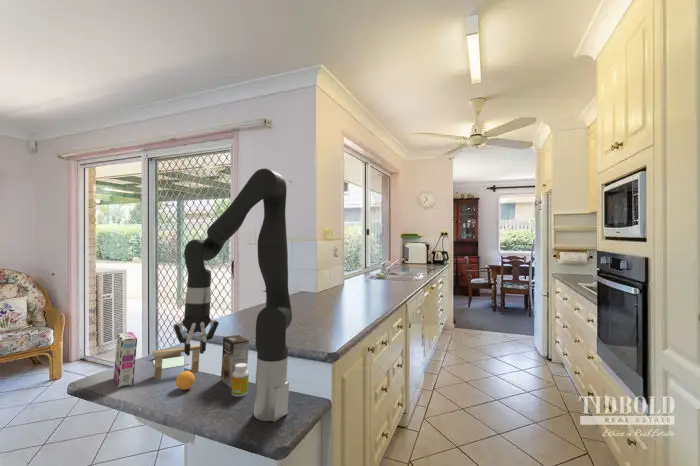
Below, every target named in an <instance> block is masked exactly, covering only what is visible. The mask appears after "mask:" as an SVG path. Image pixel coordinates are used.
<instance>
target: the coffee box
mask: <svg viewBox="0 0 700 466" xmlns="http://www.w3.org/2000/svg"><path fill="white" fill-rule="evenodd" d="M249 341H250V339H249V340H248V339H247V338H245V337H243V336H241V335H239V334H238V335H227V336H223V339H222V355H221V357H222V358H221V370H220V371H221V373H220V380H221V381H222V383H224V384H225V385H226V386H227V387H228V388H230V389H232V375H233V372H234V371H235V365H236V364H238V363H246V364H247V365H248V361H249V359H248V358H249V348H248V344H249V345H250V342H249ZM246 370H248V368H247V369H246Z"/></svg>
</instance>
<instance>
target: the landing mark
mask: <svg viewBox="0 0 700 466" xmlns="http://www.w3.org/2000/svg"><path fill="white" fill-rule="evenodd" d="M184 357H185V356H184V355H181V356H179V357H172V358H165V359H162V370H165V369H171V368H178V367H184ZM152 363H153V366H154V367H155V359H154V360H152Z"/></svg>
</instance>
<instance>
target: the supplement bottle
mask: <svg viewBox="0 0 700 466" xmlns="http://www.w3.org/2000/svg"><path fill="white" fill-rule="evenodd" d="M246 369H247V370H246ZM249 376H250V373H249V371H248V363H247V364H246V363H238V364H236V365H235V371H234V372H233V375H232V388H231V391H230V393H231V396H234V397H244V396H246V395H247V394H248V391H249V380H250V379H249Z"/></svg>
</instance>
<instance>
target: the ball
mask: <svg viewBox="0 0 700 466" xmlns="http://www.w3.org/2000/svg"><path fill="white" fill-rule="evenodd" d="M195 380H196V378H195V374H194V372H192V371H190V370H185V371H182V372H181V373H179V374H178V375H177V376H176V378H175V386H176V387H177V388H178V390H181V391H182V390H183V391H186V390H189V389H191V387H193V385H194V383H195Z"/></svg>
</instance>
